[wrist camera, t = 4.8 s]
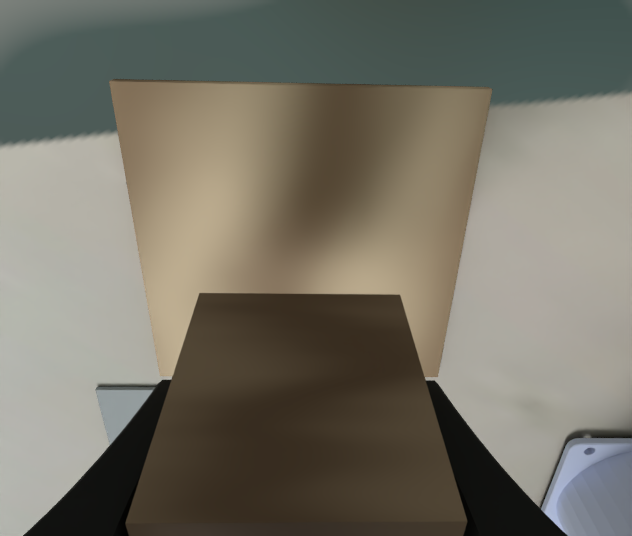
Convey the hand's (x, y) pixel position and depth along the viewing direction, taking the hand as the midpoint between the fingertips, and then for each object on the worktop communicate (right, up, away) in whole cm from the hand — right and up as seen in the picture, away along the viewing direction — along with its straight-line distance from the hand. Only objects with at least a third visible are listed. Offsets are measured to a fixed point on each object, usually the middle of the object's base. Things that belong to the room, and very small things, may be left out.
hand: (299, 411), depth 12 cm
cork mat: (0, +4, +7) cm, 8 cm away
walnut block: (0, +1, +2) cm, 2 cm away
